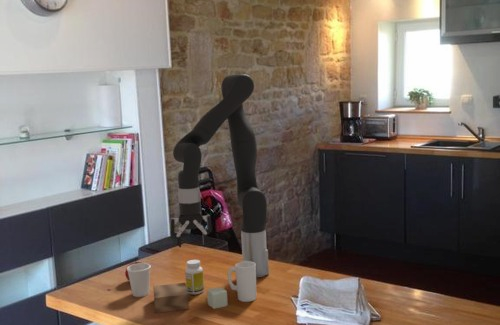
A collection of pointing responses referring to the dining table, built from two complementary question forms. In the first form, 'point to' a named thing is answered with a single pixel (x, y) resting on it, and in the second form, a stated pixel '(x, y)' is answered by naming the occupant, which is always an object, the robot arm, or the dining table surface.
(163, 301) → the walnut block
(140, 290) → the dixie cup
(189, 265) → the pill bottle
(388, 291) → the dining table surface
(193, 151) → the robot arm
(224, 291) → the sage block
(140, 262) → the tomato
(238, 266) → the mug
